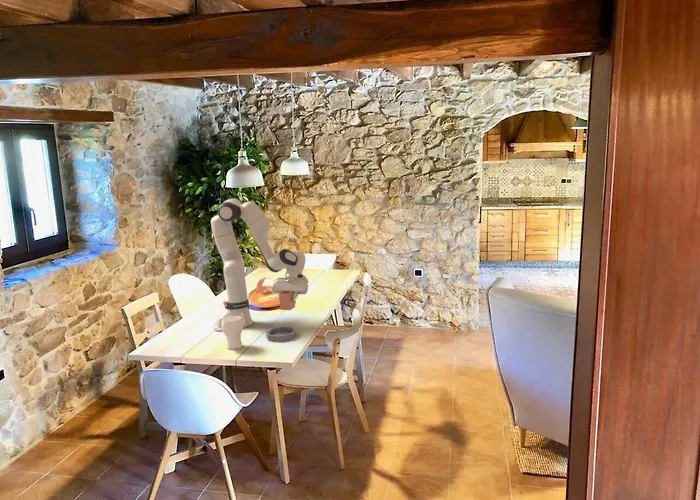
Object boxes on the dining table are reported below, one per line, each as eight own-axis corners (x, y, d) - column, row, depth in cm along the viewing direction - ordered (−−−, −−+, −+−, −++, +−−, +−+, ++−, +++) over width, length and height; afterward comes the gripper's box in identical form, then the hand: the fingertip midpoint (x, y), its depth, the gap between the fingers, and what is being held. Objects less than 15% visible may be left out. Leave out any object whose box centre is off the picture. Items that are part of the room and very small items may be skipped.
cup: (226, 352, 287) (223, 323, 285) (222, 345, 297) (218, 317, 294) (247, 347, 291) (244, 319, 289) (242, 341, 301) (239, 314, 298)
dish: (270, 343, 295) (269, 338, 295) (264, 334, 309) (264, 329, 309) (299, 338, 300) (298, 333, 299) (292, 329, 314) (291, 324, 313)
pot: (290, 310, 311) (288, 294, 310) (280, 309, 313) (278, 293, 312) (295, 306, 317) (293, 291, 315) (285, 306, 319) (283, 290, 317)
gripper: (273, 274, 322) (267, 296, 315) (307, 275, 315) (301, 297, 308) (278, 280, 327) (271, 302, 320) (311, 281, 320) (305, 303, 312)
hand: (286, 300), depth 313 cm, fingers closed on pot, 6 cm apart
